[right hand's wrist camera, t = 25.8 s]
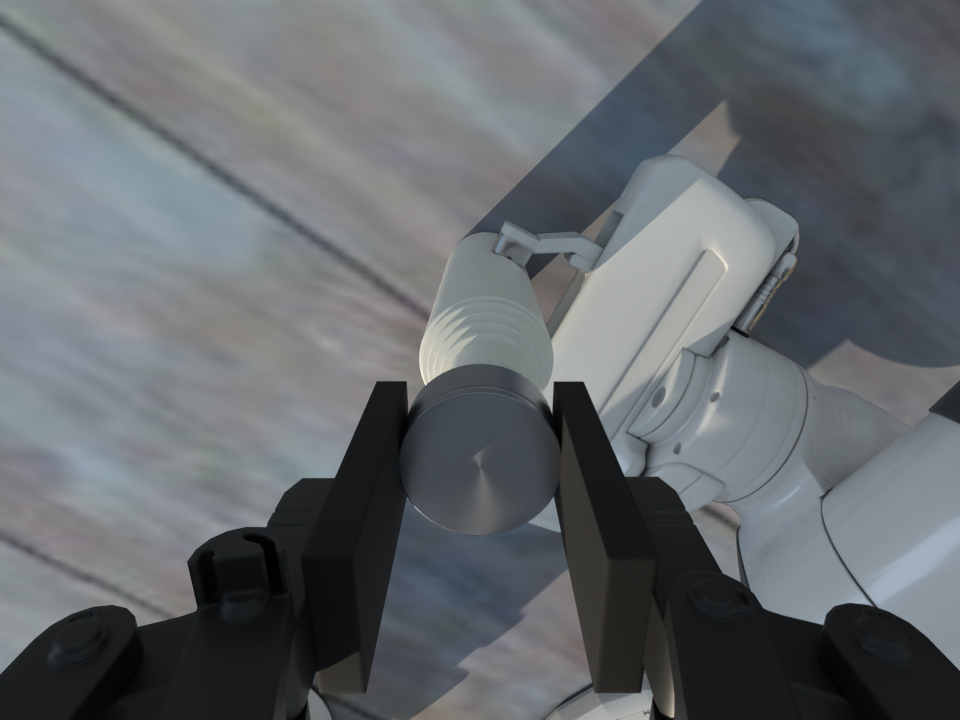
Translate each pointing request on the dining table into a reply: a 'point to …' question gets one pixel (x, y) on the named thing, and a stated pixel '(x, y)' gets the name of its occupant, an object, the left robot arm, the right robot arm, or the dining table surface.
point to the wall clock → (607, 705)
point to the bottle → (486, 316)
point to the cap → (480, 450)
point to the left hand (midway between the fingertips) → (469, 290)
